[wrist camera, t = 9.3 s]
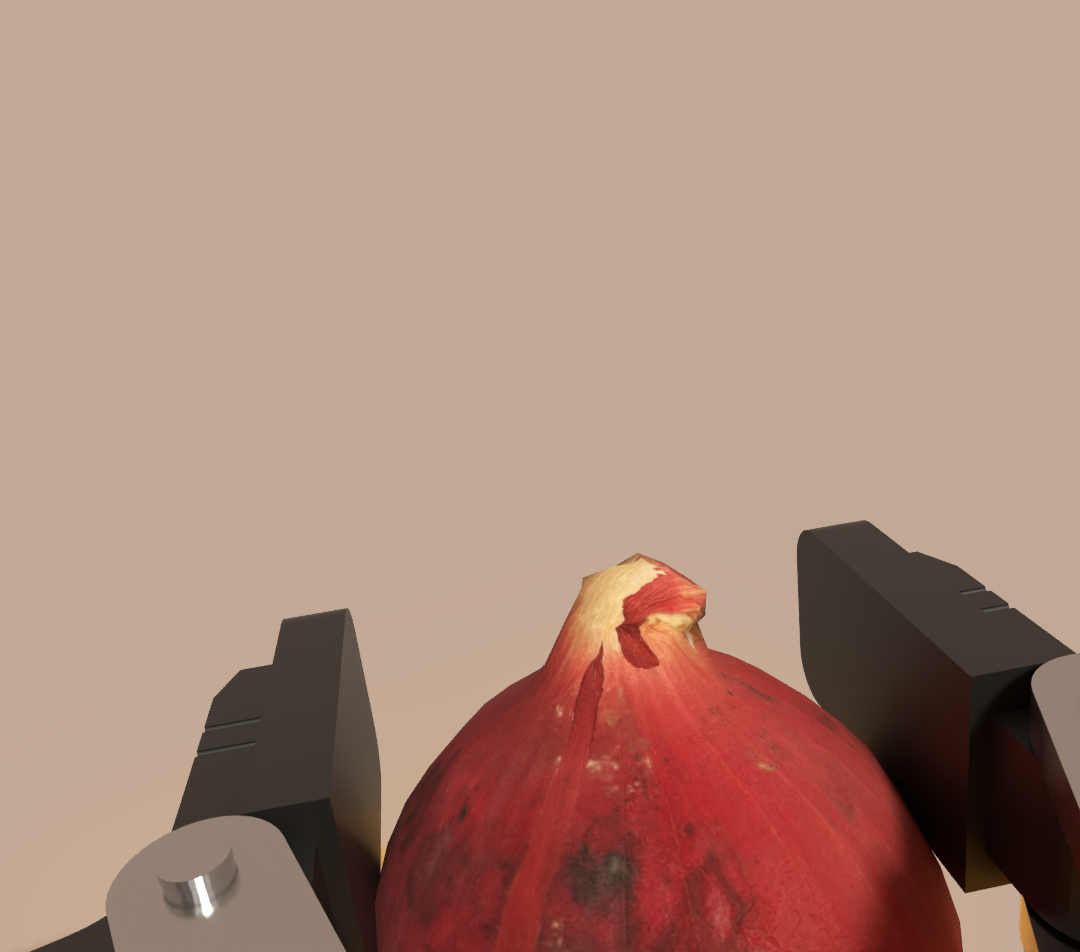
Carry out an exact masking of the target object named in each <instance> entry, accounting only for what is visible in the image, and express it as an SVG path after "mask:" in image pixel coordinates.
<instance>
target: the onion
mask: <svg viewBox="0 0 1080 952" xmlns="http://www.w3.org/2000/svg"><path fill="white" fill-rule="evenodd" d="M705 606H706V591H705V590H704V589H702V588H701V587H699V586H698V585H697V584H695V583H694V582H692V581H691V580H690V579H688V578H687V577H685V576H684V575H682V574H680V573H679V572H677V571H676V570H674V569H672V568H671V567H669V566H668V565H666V564H664V563H662V562H659V561H657V560H654V559H652V558H649V557H647V556H644V555H641V554H639V553H637V554H635V555H633V556H632V557H630V558H628V559H627V560H625V561H623V562H621V563H620V564H618V565H616V566H614V567H611V568H608V569H606V570H603V571H600V572H598V573H595V574H592V575H589V576H587V577H584V578H583V582H582V589H581V591H580V593H579V595H578V597H577V599H576V601H575V603H574V605H573V607H572V609H571V611H570V613H569V615H568V617H567V619H566V621H565V623H564V625H563V627H562V629H561V631H560V634H559V636H558V638H557V640H556V642H555V644H554V646H553V648H552V651H551V653H550V655H549V657H548V659H547V661H546V663H545V665H544V666H543V667H542V668H541V669H539V670H537V671H536V672H534V673H532V674H530V675H528V676H526V677H525V678H523V679H521V680H519V681H518V682H516V683H514V684H512V685H510V686H509V687H507V688H506V689H505V690H503V691H502V692H500V693H499V694H498V695H496V696H495V697H494V698H492V699H491V700H490V701H488V702H487V703H485V704H484V705H483V706H482V707H481V708H480V710H479V711H478V712H477V713H476V714H475V715H474V716H473V717H472V718H471V719H470V720H469V721H468V722H467V723H466V725H465V726H464V727H463V728H462V729H461V730H460V732H458V734H457V735H456V736H455V737H454V738H453V740H452V741H451V742H450V743H449V744H448V746H447V747H446V748H445V749H444V750H443V751H442V753H441V754H440V755H439V756H438V757H437V758H436V759H435V761H434V762H433V763H432V764H431V766H430V767H429V768H428V770H427V771H426V773H425V774H424V775H423V777H422V779H421V780H420V781H419V783H418V784H417V786H416V787H415V789H414V791H413V792H412V793H411V795H410V796H409V798H408V799H407V801H406V803H405V805H404V807H403V810H402V812H401V815H400V817H399V819H398V821H397V824H396V826H395V828H394V831H393V833H392V835H391V838H390V840H389V842H388V845H387V849H386V854H385V858H384V862H383V866H382V870H381V874H380V879H379V883H378V887H377V892H376V899H375V915H376V933H377V946H378V952H963V949H962V938H961V928H960V921H959V918H958V915H957V912H956V909H955V907H954V904H953V901H952V898H951V895H950V892H949V889H948V887H947V884H946V881H945V878H944V875H943V872H942V870H941V867H940V865H939V863H938V861H937V859H936V857H935V855H934V854H933V852H932V850H931V848H930V846H929V844H928V843H927V841H926V839H925V837H924V835H923V833H922V831H921V830H920V828H919V826H918V824H917V822H916V820H915V818H914V817H913V815H912V813H911V811H910V810H909V808H908V806H907V804H906V803H905V801H904V799H903V797H902V795H901V794H900V792H899V790H898V788H897V787H896V785H895V783H894V781H893V780H892V778H891V777H890V776H889V774H888V773H887V772H886V770H885V769H884V767H883V766H882V765H881V763H880V762H879V761H878V759H877V758H876V756H875V755H874V754H873V752H872V751H871V750H870V749H869V748H868V747H867V746H866V745H865V744H864V743H863V742H862V741H861V740H859V739H858V738H857V737H856V736H855V735H854V734H853V733H852V732H851V731H850V730H849V729H847V728H846V727H845V726H844V725H843V724H842V723H841V722H840V721H839V720H837V719H836V718H835V717H833V716H832V715H830V714H829V713H828V712H826V711H825V710H824V709H822V708H821V707H820V706H818V705H817V704H816V703H814V702H813V701H812V700H810V699H809V698H807V697H806V696H805V695H803V694H801V693H800V692H798V691H796V690H795V689H793V688H791V687H789V686H788V685H786V684H784V683H783V682H781V681H779V680H778V679H776V678H774V677H773V676H771V675H769V674H768V673H766V672H764V671H762V670H761V669H759V668H757V667H755V666H753V665H751V664H748V663H746V662H744V661H742V660H740V659H738V658H735V657H733V656H731V655H728V654H724V653H721V652H718V651H714V650H711V649H708V648H707V646H706V643H705V641H704V638H703V636H702V633H701V631H700V628H699V626H698V623H697V622H698V621H699V620H700V619H702V618H703V617H704V616H705Z"/></svg>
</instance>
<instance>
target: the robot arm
mask: <svg viewBox="0 0 1080 952" xmlns="http://www.w3.org/2000/svg"><path fill="white" fill-rule="evenodd" d="M797 570H798V598H799V624H800V648H801V658H802V664H803V668H804V672H805V676H806V679H807V682H808V685H809V687H810V690H811V692H812V694H813V696H814V698H815V699H816V701H817V702H818V704H819V705H820V706H821V708H822V709H824V710H825V711H826V712H828V713H829V714H830V715H832V716H833V717H835V718H836V719H837V720H839V721H840V722H841V723H842V724H843V725H844V726H845V727H846V728H847V729H849V730H850V731H851V732H852V733H853V734H854V735H855V736H856V737H857V738H858V739H859V740H861V741H862V742H863V743H864V744H865V745H866V746H867V747H868V748H869V749H870V750H871V751H872V752H873V754H874V755H875V756H876V758H877V759H878V761H879V762H880V763H881V765H882V766H883V767H884V769H885V770H886V772H887V773H888V774H889V776H890V777H891V778H892V780H893V781H894V783H895V785H896V787H897V788H898V790H899V792H900V794H901V795H902V797H903V799H904V801H905V803H906V804H907V806H908V808H909V810H910V811H911V813H912V815H913V817H914V818H915V820H916V822H917V824H918V826H919V828H920V830H921V831H922V833H923V835H924V837H925V839H926V841H927V843H928V844H929V846H930V848H931V850H932V851H933V852H934V854H935V855H936V856H937V857H938V859H939V860H940V861H941V863H942V864H943V865H944V866H945V868H946V869H947V870H948V872H949V873H950V874H951V876H952V877H953V878H954V879H955V881H956V882H957V883H958V885H959V886H960V887H961V888H962V890H963V891H964V892H965V893H968V892H973V891H978V890H983V889H987V888H992V887H997V886H1002V885H1006V884H1011V883H1012V884H1013V886H1014V887H1015V888H1016V889H1017V890H1018V891H1019V893H1020V894H1021V899H1020V901H1021V902H1020V920H1019V931H1020V937H1021V941H1022V945H1023V948H1024V952H1080V654H1076V653H1075V652H1073V651H1072V650H1071V649H1069V648H1068V647H1067V646H1065V645H1064V644H1063V643H1061V642H1060V641H1059V640H1057V639H1056V638H1054V637H1053V636H1052V635H1050V634H1049V633H1047V632H1046V631H1045V630H1044V629H1042V628H1041V627H1040V626H1038V625H1037V624H1035V623H1034V622H1033V621H1031V620H1030V619H1029V618H1027V617H1026V616H1025V615H1023V614H1022V613H1020V612H1019V611H1018V610H1016V609H1015V608H1011V609H1010V608H1009V605H1008V603H1007V602H1006V601H1004V600H1003V599H1001V598H1000V597H999V596H997V595H996V594H995V593H993V592H992V591H986V589H985V586H984V585H982V584H981V583H980V582H978V581H977V580H976V579H974V578H973V577H972V576H970V575H969V574H967V573H966V572H965V571H963V570H962V569H961V568H959V567H958V566H956V565H953V564H950V563H947V562H944V561H941V560H939V559H936V558H933V557H931V556H927V555H925V554H922V553H919V552H912V553H908V552H907V551H906V550H905V549H903V548H902V547H901V546H899V545H898V544H897V543H895V542H894V541H893V540H892V539H890V538H889V537H888V536H887V535H885V534H884V533H883V532H881V531H880V530H879V529H878V528H876V527H875V526H874V525H872V524H871V523H870V522H868V521H865V520H862V521H857V522H851V523H845V524H839V525H834V526H827V527H822V528H816V529H811V530H804V531H803V532H802V533H801V534H800V536H799V539H798V544H797ZM197 755H198V757H195V759H194V762H193V765H192V769H191V772H190V775H189V778H188V781H187V785H186V788H185V791H184V794H183V797H182V801H181V804H180V807H179V810H178V814H177V817H176V820H175V823H174V826H173V830H172V832H170V833H168V834H166V835H164V836H163V837H161V838H159V839H158V840H156V841H154V842H152V843H151V844H150V845H148V846H147V847H146V848H144V849H143V850H141V851H140V852H139V853H138V854H137V855H135V856H134V857H133V858H132V859H131V860H130V861H129V862H128V863H127V864H126V865H125V867H123V869H122V870H121V871H120V872H119V874H118V875H117V877H116V878H115V880H114V881H113V883H112V885H111V887H110V890H109V892H108V895H107V900H106V914H107V916H105V917H104V918H102V919H100V920H99V921H97V922H95V923H93V924H92V925H90V926H88V927H86V928H84V929H82V930H80V931H78V932H75V933H73V934H71V935H69V936H67V937H64V938H62V939H59V940H57V941H55V942H52V943H50V944H48V945H45V946H43V947H40V948H38V949H36V950H33V951H31V952H378V946H377V933H376V915H375V899H376V892H377V887H378V883H379V879H380V860H381V771H380V760H379V752H378V745H377V738H376V732H375V727H374V722H373V717H372V712H371V707H370V702H369V697H368V692H367V687H366V682H365V677H364V672H363V667H362V663H361V658H360V654H359V648H358V643H357V638H356V633H355V628H354V624H353V620H352V617H351V614H350V611H349V609H348V608H347V609H341V610H335V611H329V612H323V613H317V614H312V615H306V616H300V617H294V618H288V619H283V621H282V624H281V628H280V632H279V637H278V641H277V646H276V651H275V655H274V660H273V664H272V665H266V666H261V667H256V668H249V669H244V670H240V671H239V672H238V673H237V675H235V676H234V677H233V678H232V679H231V680H230V682H229V683H228V684H227V685H226V686H225V687H224V688H223V689H222V690H221V691H220V692H219V693H218V694H217V695H216V696H215V697H214V699H213V702H212V705H211V708H210V711H209V714H208V718H207V721H206V724H205V733H203V734H202V737H201V740H200V743H199V746H198V749H197Z"/></svg>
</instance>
